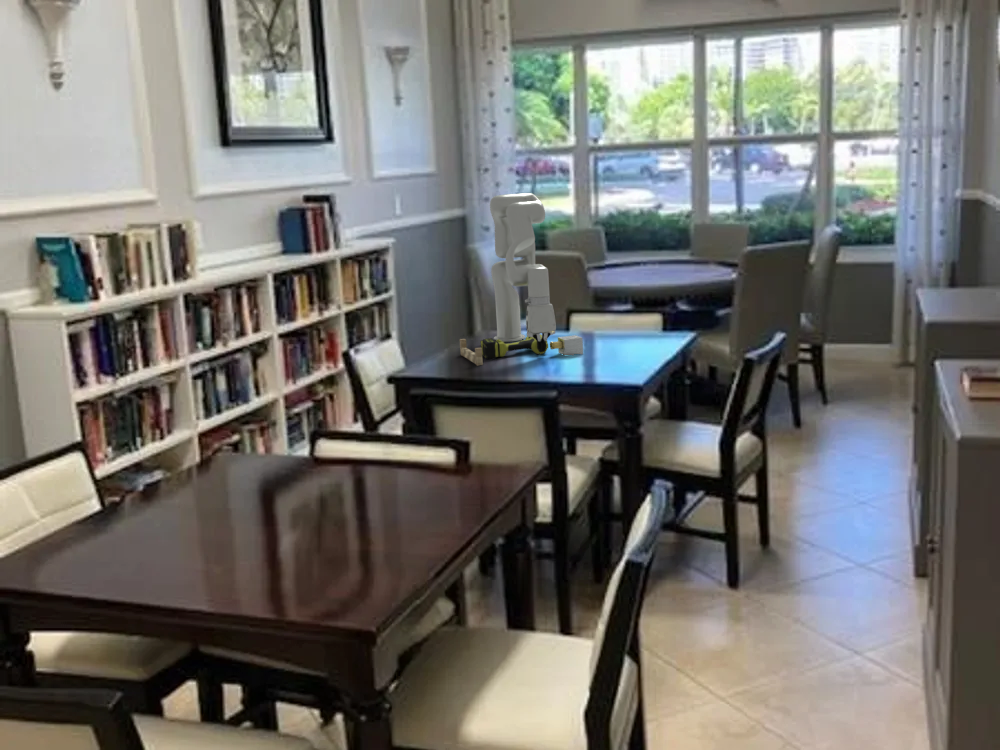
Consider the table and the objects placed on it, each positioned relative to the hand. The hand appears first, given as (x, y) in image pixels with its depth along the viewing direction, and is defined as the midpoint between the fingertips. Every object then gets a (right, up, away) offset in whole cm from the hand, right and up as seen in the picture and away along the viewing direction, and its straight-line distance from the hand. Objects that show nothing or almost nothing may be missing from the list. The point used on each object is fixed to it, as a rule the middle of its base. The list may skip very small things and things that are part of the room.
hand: (541, 351), depth 380 cm
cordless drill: (-10, 0, +15) cm, 19 cm away
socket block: (+11, -1, +3) cm, 11 cm away
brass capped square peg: (+8, +1, +2) cm, 9 cm away
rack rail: (-26, -3, +4) cm, 26 cm away
